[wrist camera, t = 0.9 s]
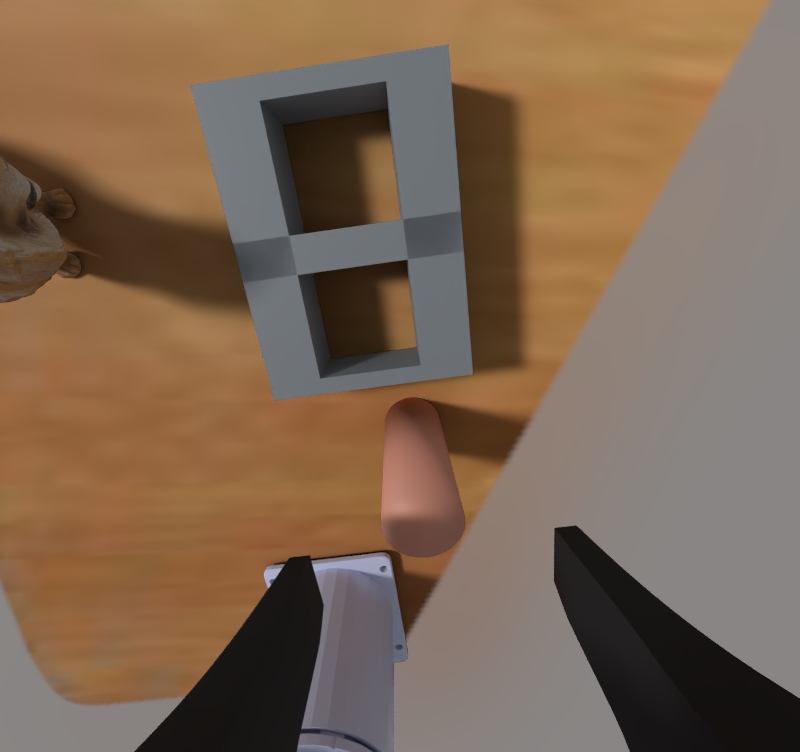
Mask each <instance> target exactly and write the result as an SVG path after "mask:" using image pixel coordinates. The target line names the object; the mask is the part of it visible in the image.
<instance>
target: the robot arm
mask: <svg viewBox="0 0 800 752" xmlns="http://www.w3.org/2000/svg"><path fill="white" fill-rule="evenodd" d="M554 536H555V537H554V582H555V585H556V588H557V590H558V593H559V596H560V599H561V602H562V604H563V607H564V610H565V612H566V615H567V618H568V620H569V622H570V624H571V626H572V628H573V630H574V632H575V635H576V637H577V639H578V641H579V643H580V645H581V647H582V649H583V651H584V653H585V655H586V657H587V660H588V661H589V664H590V665H591V668H592V670H593V672H594V674H595V676H596V678H597V680H598V682H599V684H600V686H601V688H602V690H603V692H604V694H605V696H606V698H607V701H608V703H609V704H610V706H611V709H612V711H613V713H614V715H615V717H616V720H617V722H618V724H619V726H620V729H621V731H622V733H623V735H624V738H625V740H626V743H627V745H628V748H629V750H630V752H800V698H798V697H796V696H795V695H793V694H792V693H790V692H789V691H787V690H785V689H784V688H782V687H781V686H779V685H777V684H776V683H774V682H773V681H771V680H770V679H768V678H767V677H765V676H763V675H762V674H760V673H759V672H757V671H755V670H754V669H753V668H751V667H750V666H748V665H747V664H745V663H744V662H742V661H741V660H739V659H738V658H736V657H735V656H733V655H732V654H730V653H729V652H727V651H726V650H725V649H723V648H722V647H721V646H719V645H718V644H716V643H715V642H714V641H712V640H711V639H709V638H708V637H707V636H705V635H704V634H703V633H701V632H700V631H698V630H697V629H696V628H695V627H693V626H692V625H691V624H689V623H688V622H687V621H685V620H684V619H683V618H681V617H680V616H679V615H678V614H677V613H675V612H674V611H673V610H672V609H670V608H669V607H668V606H666V605H665V604H664V603H663V602H661V601H660V600H659V599H658V598H656V597H655V596H654V595H653V594H652V593H650V592H649V591H648V590H647V589H646V588H645V587H643V586H642V585H641V584H640V583H639V582H638V581H637V580H635V579H634V578H633V577H632V576H631V575H630V574H629V573H627V572H626V571H625V570H624V569H623V568H622V567H620V566H619V565H618V564H617V563H616V562H615V561H614V560H613V559H612V558H611V557H610V556H608V555H607V554H606V553H605V552H604V551H603V550H602V549H601V548H600V547H599V546H598V545H596V544H595V543H594V542H593V541H592V540H591V539H590V538H589V537H588V536H587V535H586V534H585V533H584V532H583V531H582V530H581V529H580V528H578V527H577V526H569V527H559V528H555V535H554ZM382 566H386V567H382ZM264 578H265V581H266V584H267V587H268V590H267V591H266V593H265V594H264V596H263V597H262V599H261V600H260V602H259V603H258V604H257V606H256V607H255V609H254V610H253V611H252V613H251V614H250V616H249V617H248V618H247V620H246V621H245V623H244V624H243V625H242V627H241V628H240V630H239V631H238V632H237V634H236V635H235V636H234V638H233V639H232V640H231V642H230V643H229V644H228V645H227V647H226V648H225V649H224V651H223V652H222V653H221V654H220V656H219V657H218V658H217V660H216V661H215V662H214V663H213V665H212V666H211V667H210V668H209V670H208V671H207V672H206V673H205V674H204V676H203V677H202V678H201V679H200V681H199V682H198V683H197V684H196V685H195V686H194V688H193V689H192V690H191V691H190V692H189V693H188V694H187V696H186V697H185V698H184V699H183V700H182V701H181V703H180V704H179V705H178V706H177V707H176V708H175V709H174V710H173V711H172V712H171V714H170V715H169V716H168V717H167V718H166V719H165V720H164V721H163V722H162V723H161V724H160V725H159V726H158V728H157V729H156V730H155V731H154V732H153V733H152V734H151V735H150V736H149V737H148V738H147V739H146V740H145V741H144V742H143V743H142V744H141V745H140V746H139V747H138V748H137V750H136V751H135V752H394V663H395V662H402V661H405V660H407V658H408V649H407V644H406V638H405V633H404V628H403V622H402V617H401V611H400V606H399V600H398V595H397V589H396V584H395V578H394V573H393V567H392V562H391V557H390V555H389V554H387V553H383V552H381V553H373V554H364V555H356V556H347V557H339V558H331V559H322V560H314V561H311V558H310V556H301V557H292V558H289V559H288V560H287V562H286V563H285V564H280V565H271V566H268V567H267V568H266V570H265V573H264ZM274 579H275V580H274Z"/></svg>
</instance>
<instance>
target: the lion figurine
mask: <svg viewBox="0 0 800 752" xmlns="http://www.w3.org/2000/svg"><path fill="white" fill-rule="evenodd" d="M75 210H76V208H75V205H74V203H73V200H72V199H71V197H70V196H69V195H68V194H67V193H66V191H65V190H64V189H61V188H56V189H52V190H49V191H45V192H42V191H41V188H40V187H39V185H38V184H37V183H35V182H34V181H32V180H31V179H30V178H28V177H26V176H23V175H22V174H21V173H20V172H19V171H18V170H17V169H16V168H14V167H13V166H12V165H10V164H9V163H7V162H6V161H5V160H4V158H3V157H2V156H1V155H0V303H3V302H12V301H16V300H18V299H20V298H22V297H27V296H30V295H32V294H34V293H35V292H36V290H37V289H38V288H40V287H41V286H43V285H44V284H45V283H46V282H47V281H49V280H50V279H51V278H52V276H53V275H54V274H55V273H56V274H57V275H58V276H60V277H62V278H71V277H75V276H77V275H78V274H79V273H80V271H81V264H80V260H79V259H78V258H77V257H76V256H75V255H73V254H71V253H69V252H68V250H67V249H66V248H65V247H64V245H63V242H62V240H61V238H60V235H59V233H58V231H57V229H56V228H55V226H54V225H53V224H52V222H51V221H50V219H53V218H60V219H67V218H70V217H72V216H73V214H74V212H75Z"/></svg>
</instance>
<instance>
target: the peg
mask: <svg viewBox="0 0 800 752" xmlns="http://www.w3.org/2000/svg"><path fill="white" fill-rule="evenodd" d="M464 529H465V515H464V511H463V507H462V504H461V500H460V496H459V492H458V488H457V484H456V480H455V476H454V473H453V469H452V465H451V461H450V457H449V453H448V449H447V445H446V442H445V438H444V434H443V430H442V426H441V422H440V418H439V415H438V412H437V410H436V409H435V407H434V406H433V405H432V404H430V403H429V402H428V401H426V400H423V399H420V398H406V399H403V400H400V401H398V402H397V403H395V404H394V405H393V406H392V407H391V408H390V410H389V411H388V413H387V416H386V420H385V443H384V465H383V488H382V511H381V530H382V534H383V536H384V538H385V540H386V541H387V542H388V544H389V545H390V546H391V547H393V548H394V549H395V550H397V551H398V552H400V553H402V554H405V555H408V556H412V557H431V556H435V555H439V554H441V553H443V552H445V551H447V550H449V549H450V548H452V547H453V546H454V545H455V544H456V543H457V542H458V541H459V539H460V538H461V536H462V534H463V532H464Z"/></svg>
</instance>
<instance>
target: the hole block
mask: <svg viewBox="0 0 800 752" xmlns="http://www.w3.org/2000/svg"><path fill="white" fill-rule="evenodd" d="M190 86H191V90H192V94H193V97H194V101H195V105H196V109H197V112H198V116H199V120H200V124H201V127H202V131H203V135H204V139H205V142H206V146H207V150H208V154H209V157H210V161H211V165H212V169H213V172H214V176H215V180H216V183H217V187H218V191H219V195H220V198H221V202H222V206H223V210H224V213H225V217H226V221H227V225H228V228H229V232H230V236H231V240H232V243H233V247H234V251H235V255H236V258H237V262H238V266H239V270H240V273H241V277H242V281H243V285H244V288H245V292H246V296H247V299H248V303H249V307H250V311H251V314H252V318H253V322H254V326H255V329H256V333H257V337H258V341H259V344H260V348H261V352H262V356H263V359H264V363H265V367H266V371H267V374H268V378H269V382H270V386H271V389H272V393H273V397H274V401H275V400H283V399H291V398H298V397H306V396H313V395H321V394H329V393H336V392H344V391H352V390H359V389H367V388H374V387H382V386H390V385H397V384H405V383H412V382H420V381H428V380H435V379H443V378H450V377H458V376H466V375H473V368H472V355H471V341H470V328H469V314H468V301H467V288H466V274H465V261H464V247H463V234H462V220H461V207H460V193H459V180H458V166H457V153H456V139H455V126H454V112H453V99H452V85H451V72H450V58H449V45H442V46H436V47H430V48H423V49H417V50H411V51H404V52H398V53H392V54H385V55H379V56H373V57H366V58H360V59H354V60H347V61H341V62H335V63H328V64H322V65H316V66H309V67H303V68H297V69H290V70H284V71H277V72H271V73H265V74H258V75H252V76H246V77H239V78H233V79H227V80H220V81H214V82H208V83H201V84H195V85H190ZM384 109H387V110H388V118H389V126H390V134H391V142H392V150H393V158H394V166H395V174H396V182H397V191H398V199H399V207H400V215H401V220H396V221H389V222H382V223H375V224H368V225H361V226H354V227H347V228H340V229H333V230H326V231H319V232H313V233H306V234H305V231H304V226H303V221H302V217H301V212H300V207H299V202H298V197H297V192H296V187H295V182H294V178H293V173H292V168H291V163H290V158H289V153H288V148H287V143H286V139H285V134H284V129H283V125H286V124H292V123H299V122H305V121H312V120H319V119H325V118H332V117H338V116H345V115H351V114H358V113H364V112H371V111H377V110H384ZM401 260H406V263H407V271H408V279H409V288H410V296H411V304H412V312H413V320H414V328H415V336H416V344H417V347H415V348H408V349H400V350H393V351H385V352H378V353H370V354H363V355H356V356H348V357H341V358H333V359H331V358H330V353H329V348H328V343H327V339H326V334H325V329H324V324H323V319H322V314H321V309H320V304H319V300H318V295H317V290H316V285H315V280H314V275H313V273H316V272H323V271H330V270H337V269H344V268H351V267H358V266H365V265H372V264H380V263H387V262H394V261H401Z"/></svg>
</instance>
